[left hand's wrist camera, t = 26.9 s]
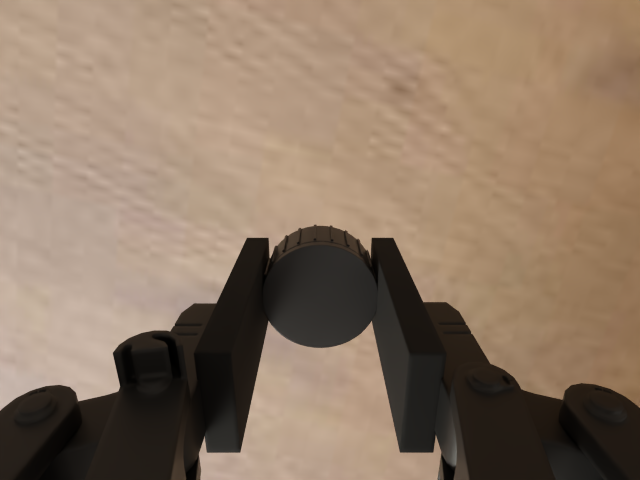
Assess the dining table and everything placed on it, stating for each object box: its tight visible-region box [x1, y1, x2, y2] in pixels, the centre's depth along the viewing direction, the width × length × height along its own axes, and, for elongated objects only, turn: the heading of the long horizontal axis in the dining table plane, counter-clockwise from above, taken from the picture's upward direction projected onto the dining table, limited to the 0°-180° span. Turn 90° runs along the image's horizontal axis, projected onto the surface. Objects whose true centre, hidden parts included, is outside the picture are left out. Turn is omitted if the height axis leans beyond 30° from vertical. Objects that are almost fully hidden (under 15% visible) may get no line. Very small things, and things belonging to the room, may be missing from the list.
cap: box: [262, 225, 378, 348], centre depth 14 cm, size 4×4×2 cm
